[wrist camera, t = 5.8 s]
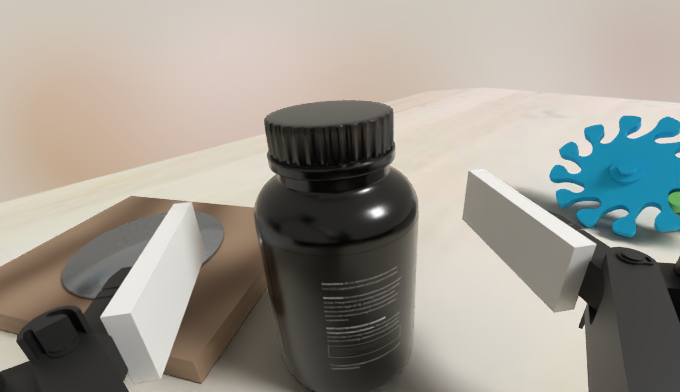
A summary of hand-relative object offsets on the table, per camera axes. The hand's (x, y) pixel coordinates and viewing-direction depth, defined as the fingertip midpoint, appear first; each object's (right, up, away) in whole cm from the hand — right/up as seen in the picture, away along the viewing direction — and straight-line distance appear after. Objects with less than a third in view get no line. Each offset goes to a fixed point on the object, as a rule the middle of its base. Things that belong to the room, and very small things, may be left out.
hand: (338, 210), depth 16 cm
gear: (+23, -1, +11) cm, 25 cm away
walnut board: (-13, -4, +8) cm, 16 cm away
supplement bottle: (0, -7, +2) cm, 7 cm away
